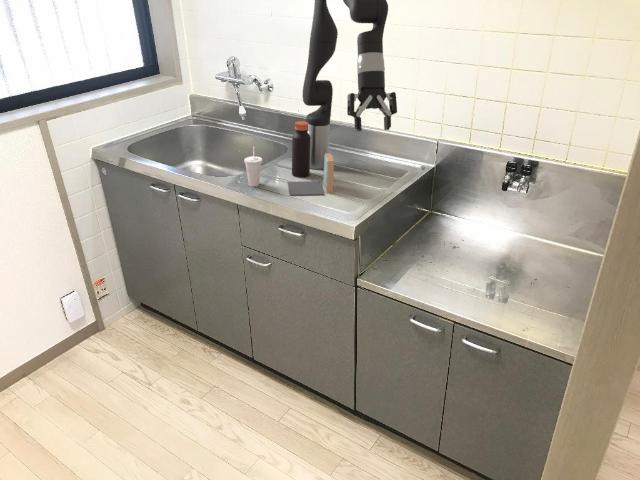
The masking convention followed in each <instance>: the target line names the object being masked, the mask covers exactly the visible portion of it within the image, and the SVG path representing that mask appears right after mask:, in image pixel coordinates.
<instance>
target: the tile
mask: <svg viewBox="0 0 640 480" xmlns="http://www.w3.org/2000/svg"><path fill="white" fill-rule="evenodd" d="M334 167H335V160H334V157H333V155H332V153H331V152H330V153H325V157H324V168H323V182H322V183H323V187H324V189H325V192H326V194H333V189H334V187H333V185H334V171H335V170H334Z"/></svg>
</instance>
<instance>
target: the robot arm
mask: <svg viewBox="0 0 640 480" xmlns="http://www.w3.org/2000/svg"><path fill="white" fill-rule="evenodd" d="M387 1H388V0H342V2H343V4H345V6H346V7H347V8H348V9H349V16H350V19H351V21H353V22H354V23H357V24H372V28H371V29H370V30H366V31H363V32H360V33H359V34H358V35H357V40H356V41H357V43H356V44H357V46H356V47H357V64H356V65H357V67H356V68H357V70H356V71H357V90H358V91H357V93H353V92H350V93H348V94H347V103H346V104H347V109H346V110H347V116H350V117H352V118H353V120H354V124H353V125H354V129H355V130H356V132H362V117H361V115H362V114H363V112H365V111H366V110H370V109H372V110H373V109H374V110H376V109H378V110H379V111H380V112H381V113H382V114H383V128H384V131H390V128H392V115H395V114H397V113H398V106H397V105H398V104H397V103H398V102H397V93H396V92H395V91H393V92H388V93H387V92H386V78H385V77H386V76H385V69H386V67H385V60H384V59H385V58H384V46H383V44H384V42H383V39H384V33H385V27H386V22H387V17H388V13H389V4H388V2H387ZM313 7H314V9H313V16H312V23H311V29H310V30H311V31H310V36H309V44H308V45H309V46H308V47H309V48H308V57H307V63H306V64H307V66H306V72H305V74H304V75H305V76H304V81H303V86H302V102H303V104H304V105H306V106H308V107H317V106H318V108H317V109H316V110H314V111H312V112H310V113H308V114H307V115H306V118H305V122H308V131H307V133H308V134H309V135H310V137H311V140H310V169H313V170H322V169H323V170H324V157H325V153H329V151H330V134H331V133H330V128H331V117H332V103H333V97H334V96H333V94H334V93H333V92H334V91H333V90H334V89H333V84H332V82H331V81H330V80H328V79H320V80H319V79H317V78H318V75H319V74H320V72H321V71H322V69H323V68H324V67H325V65H326V64H328V62H329V61H330V60H331V58H332V57H333V55H334V53H335V52H336V47H337V42H338V35H339V34H338V28H337V25H336V22H335V21H334V19H333V16H332V14H331V13H330V11H329V7H328V4H327V0H314V5H313ZM386 99H387V101H388V105H389V106H388V105H387V103H386V102H385V100H386ZM357 100H358V101H359V105H358V106H357V107H356V110H355V102H356V101H357Z"/></svg>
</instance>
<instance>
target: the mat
mask: <svg viewBox="0 0 640 480" xmlns="http://www.w3.org/2000/svg"><path fill="white" fill-rule="evenodd" d="M287 187H288V192H289V196H291V197H293V196H295V197H296V196H298V197H299V196H325V192H324V190H323V185H322V183H321V181H320V180H316V181H315V180H314V181H313V180H311V181H309V180H308V181H306V180H305V181H302V180H301V181H287Z"/></svg>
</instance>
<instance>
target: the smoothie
mask: <svg viewBox="0 0 640 480" xmlns="http://www.w3.org/2000/svg"><path fill="white" fill-rule="evenodd" d="M255 149H256V148H255V146H252V155H251V156H250V155H249V156H247V157H245V158H244V160H243V161H244V164H245V168H246V169H245V170H246V175H247V180H248V186H250V187H258V186H259V185H260V180H261V172H262V171H261V170H262V164H263V158H262V157H260V156H255V155H256V154H255V153H256V151H255Z"/></svg>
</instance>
